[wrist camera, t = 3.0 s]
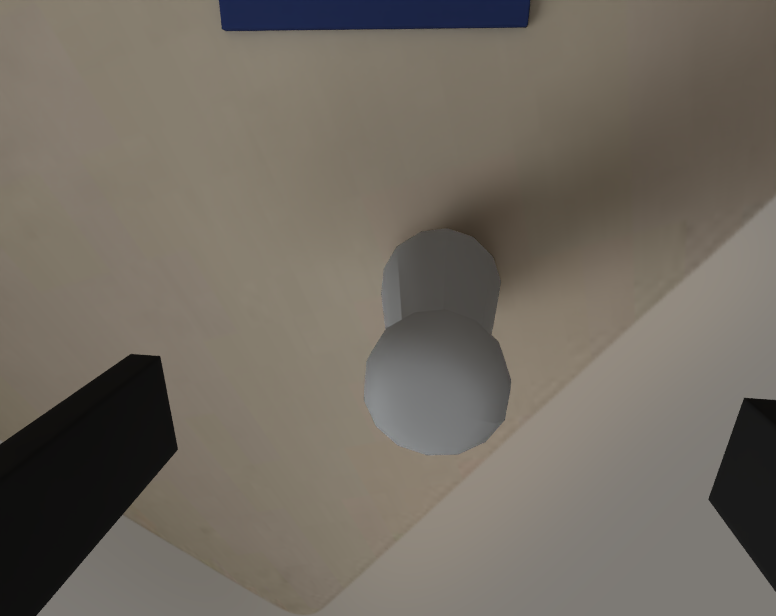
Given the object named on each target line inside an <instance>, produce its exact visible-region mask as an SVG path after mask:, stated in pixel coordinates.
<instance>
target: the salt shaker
mask: <svg viewBox="0 0 776 616" xmlns="http://www.w3.org/2000/svg"><path fill="white" fill-rule="evenodd" d="M500 285H501V280H500V277H499V274H498V271H497V267H496V264H495V261H494V258H493V256H492V255H491V254H490V253H489V252H488V251H487V250H486V249H485V248H484V247H483V246H482V245H481V244H480V243H479V242H478V241H477V240H476V239H475V238H474V237H472V236H469V235H466V234H463V233H460V232H457V231H454V230H451V229H448V228H445V229H437V230H429V231H421V232H420V233H418V234H416V235H415V236H413V237H411V238H410V239H408V240H407V241H405V242H403V243H402V244H400V245H399V246H397V247H396V249H395V250H394V252H393V254H392V256H391V257H390V259H389V261H388V262H387V264H386V266H385V268H384V272H383V282H382V292H381V295H382V304H383V312H384V320H385V328H386V330H385V331H384V333H383V334H382V336H381V338H380V339H379V341H378V342H377V344H376V345H375V347H374V349H373V350H372V352H371V354H370V356H369V358H368V359H367V363H366V375H365V387H364V401H365V403H366V406H367V408H368V410H369V412H370V414H371V416H372V418H373V421H374V423H375V425H376V427H378V428H379V429H380V430H381V431H382V432H383V433H384V434H386V435H387V436H388V437H389V438H390V439H391V440H392V441H393V442H395V443H396V444H397V445H398V446H401V447H404V448H407V449H410V450H413V451H416V452H419V453H422V454H425V455H456V454H460V453H462V452H465V451H467V450H469V449H471V448H473V447H475V446H478V445H480V444H482V443H484V442H486V441H487V440H488V438H489V437H490V436H491V435H492V434H493V433H494V432H495V430H496V429H497V428H498V427H499V426H500V425H501V424H502V422H503V421H504V420H505V415H506V410H507V405H508V400H509V394H510V386H511V378H510V375H509V372H508V369H507V366H506V362H505V359H504V356H503V353H502V350H501V347H500V345H499V342H498V341H497V340H496V339H495V338H494V337H493V336H492V335H491V334H492V329H493V324H494V318H495V313H496V308H497V302H498V296H499V291H500Z"/></svg>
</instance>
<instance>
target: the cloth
mask: <svg viewBox="0 0 776 616" xmlns="http://www.w3.org/2000/svg"><path fill="white" fill-rule="evenodd" d="M219 5H220V14H221V24H222V29H223V30H225V31H265V30H349V29H433V28H517V27H527V25H528V18H529V9H530V0H219Z"/></svg>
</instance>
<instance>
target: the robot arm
mask: <svg viewBox="0 0 776 616" xmlns="http://www.w3.org/2000/svg"><path fill="white" fill-rule="evenodd" d="M177 450H178V447H177V442H176V437H175V432H174V426H173V421H172V416H171V411H170V405H169V400H168V395H167V389H166V384H165V379H164V374H163V368H162V363H161V358H160V356H151V355H136V354H130V355H129V356H127V357H126V358H124V359H123V360H121V361H120V362H118V363H117V364H116V365H114V366H113V367H111V368H110V369H108V370H107V371H105V372H104V373H103V374H101V375H100V376H98V377H97V378H95V379H94V380H92V381H91V382H90V383H88V384H87V385H85V386H84V387H82V388H81V389H79V390H78V391H77V392H75V393H74V394H72V395H71V396H69V397H68V398H66V399H65V400H64V401H62V402H61V403H59V404H58V405H56V406H55V407H53V408H52V409H51V410H49V411H48V412H46V413H45V414H43V415H42V416H40V417H39V418H38V419H36V420H35V421H33V422H32V423H30V424H29V425H27V426H26V427H25V428H23V429H22V430H20V431H19V432H17V433H16V434H14V435H13V436H12V437H10V438H9V439H7V440H6V441H4V442H3V443H1V444H0V616H36V615H37V614H38V613H39V612H40V611H41V610H42V608H43V607H44V606H45V605H46V604H47V602H48V601H49V600H50V599H51V598H52V597H53V595H54V594H55V593H56V592H57V591H58V590H59V588H60V587H61V586H62V585H63V584H64V582H65V581H66V580H67V579H68V578H69V577H70V575H71V574H72V573H73V572H74V571H75V570H76V568H77V567H78V566H79V565H80V564H81V563H82V561H83V560H84V559H85V558H86V557H87V556H88V554H89V553H90V552H91V551H92V550H93V549H94V547H95V546H96V545H97V544H98V543H99V541H100V540H101V539H102V538H103V537H104V536H105V534H106V533H107V532H108V531H109V530H110V529H111V527H112V526H113V525H114V524H115V523H116V522H117V520H118V519H119V518H120V517H121V516H122V514H123V513H124V512H125V511H126V510H127V509H128V507H129V506H130V505H131V504H132V503H133V502H134V500H135V499H136V498H137V497H138V496H139V495H140V493H141V492H142V491H143V490H144V489H145V487H146V486H147V485H148V484H149V483H150V482H151V480H152V479H153V478H154V477H155V476H156V475H157V473H158V472H159V471H160V470H161V469H162V468H163V466H164V465H165V464H166V463H167V462H168V460H169V459H170V458H171V457H172V456H173V455H174V453H175V452H176V451H177ZM709 501H710V502H711V504H712V505H713V506H714V508H715V509H716V510H717V512H718V513H719V515H720V516H721V517H722V519H723V520H724V521H725V523H726V524H727V526H728V527H729V528H730V529H731V531H732V532H733V534H734V535H735V536H736V538H737V539H738V541H739V542H740V543H741V545H742V546H743V547H744V549H745V550H746V552H747V553H748V554H749V556H750V557H751V558H752V560H753V561H754V563H755V564H756V565H757V567H758V568H759V569H760V571H761V572H762V574H763V575H764V576H765V578H766V579H767V580H768V582H769V583H770V584H771V586H772V587H773V588H774V590H775V591H776V400H767V399H753V398H744V400H743V403H742V405H741V408H740V411H739V414H738V417H737V420H736V422H735V425H734V428H733V431H732V434H731V437H730V440H729V443H728V445H727V448H726V451H725V454H724V456H723V459H722V462H721V465H720V468H719V471H718V473H717V476H716V479H715V482H714V485H713V488H712V491H711V493H710V496H709Z"/></svg>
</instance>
